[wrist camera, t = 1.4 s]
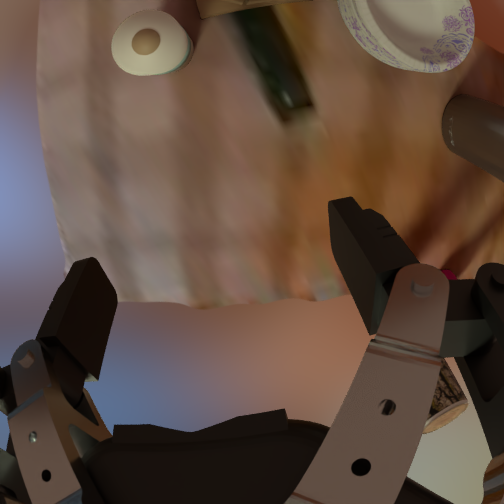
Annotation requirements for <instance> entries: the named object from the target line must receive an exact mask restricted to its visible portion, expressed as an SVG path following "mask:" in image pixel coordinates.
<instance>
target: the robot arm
mask: <svg viewBox="0 0 504 504" xmlns="http://www.w3.org/2000/svg"><path fill="white" fill-rule="evenodd" d="M442 133H443V137H444V141H445V143H446V145H447V146H448V148H449V149H450V150H451V151H452V152H453V153H455V154H457V155H459V156H460V157H462V158H464V159H466V160H468V161H469V162H471V163H473V164H474V165H476V166H478V167H480V168H481V169H483V170H485V171H486V172H488V173H489V174H491V175H493V176H494V177H496V178H497V179H499V180H501V181H502V182H504V107H503V106H500V105H497V104H495V103H492V102H489V101H486V100H483V99H479V98H476V97H473V96H469V95H459V96H456V97H455V98H453V99H452V100H451V101H450V102H449V104H448V105H447V107H446V109H445V112H444V115H443V120H442ZM328 213H329V226H330V240H331V247H332V252H333V255H334V258H335V261H336V263H337V265H338V267H339V269H340V271H341V273H342V275H343V277H344V280H345V282H346V284H347V286H348V288H349V290H350V293H351V295H352V297H353V299H354V301H355V304H356V306H357V308H358V310H359V312H360V315H361V317H362V319H363V322H364V324H365V326H366V328H367V331H368V333H369V335H373V334H376V333H377V334H376V336H375V339H371V341H370V343H369V345H368V347H367V349H366V352H365V354H364V357H363V359H362V361H361V364H360V366H359V368H358V371H357V373H356V375H355V377H354V380H353V382H352V384H351V386H350V389H349V391H348V393H347V395H346V397H345V399H344V401H343V404H342V406H341V408H340V410H339V412H338V414H337V416H336V418H335V420H334V422H333V424H332V426H331V428H330V427H327V426H324V425H322V424H318V423H314V422H310V421H304V420H293V419H288V417H287V414H286V411H285V409H279V410H275V411H269V412H263V413H257V414H251V415H244V416H238V417H235V418H232V419H230V420H227V421H225V422H222V423H219V424H216V425H213V426H211V427H208V428H205V429H202V430H199V431H195V432H184V431H179V430H174V429H169V428H164V427H160V426H155V425H151V424H142V425H114V429H113V436H112V434H111V433H110V432H109V430H108V429H107V427H106V425H105V424H104V422H103V420H102V419H101V416H100V414H99V412H98V410H97V408H96V406H95V405H94V403H93V400H92V398H91V396H90V394H89V393H88V391H87V390H86V389H85V388H84V387H83V386H84V382H89V381H98V380H99V375H100V370H101V366H102V362H103V358H104V353H105V349H106V345H107V341H108V337H109V334H110V329H111V326H112V322H113V319H114V315H115V312H116V308H117V304H118V300H117V294H116V291H115V289H114V287H113V285H112V284H111V282H110V280H109V279H108V277H107V275H106V274H105V272H104V270H103V269H102V267H101V265H100V264H99V262H98V260H97V259H96V258H94V257H90V258H86V259H83V260H79V261H76V262H74V263H73V265H72V267H71V269H70V271H69V273H68V275H67V276H66V278H65V281H64V282H63V283H62V284H61V285H60V287H59V288H58V290H57V292H56V294H55V296H54V298H53V301H52V302H51V304H50V306H49V310H48V311H47V313H46V315H45V318H44V320H43V322H42V325H41V327H40V329H39V332H38V334H37V336H36V339H35V340H33V339H32V340H28V341H26V342H24V343H23V344H22V345H20V346H19V348H18V349H17V350H16V351H15V353H14V355H13V357H12V359H11V364H10V365H8V366H6V367H3V368H1V367H0V411H1V412H3V413H4V414H5V415H7V416H8V418H7V419H8V424H9V429H10V433H9V438H8V444H7V449H6V451H4V450H3V449H1V448H0V504H453V503H451V502H450V501H448V500H446V499H444V498H442V497H441V496H439V495H437V494H435V493H434V492H432V491H430V490H428V489H427V488H425V487H423V486H422V485H420V484H418V483H417V482H415V481H413V480H412V479H410V478H408V477H407V473H408V471H409V468H410V466H411V463H412V461H413V458H414V456H415V453H416V450H417V447H418V445H419V442H420V439H421V436H422V433H423V430H424V427H425V424H426V421H427V417H428V414H429V411H430V407H431V404H432V400H433V396H434V393H435V389H436V385H437V381H438V376H439V372H440V367H441V361H442V358H446V357H454V359H455V361H456V363H457V365H458V368H459V370H460V372H461V374H462V377H463V379H464V381H465V384H466V386H467V389H468V391H469V393H470V396H471V398H472V401H473V404H474V406H475V409H476V411H477V414H478V417H479V419H480V422H481V425H482V428H483V431H484V434H485V437H486V440H487V443H488V446H489V449H490V452H491V455H492V460H491V461H490V463H489V464H488V466H487V468H486V471H485V474H484V479H483V488H484V497H483V501H482V503H481V504H504V265H502V264H499V263H486V264H484V265H482V266H481V267H480V268H479V269H478V271H477V274H476V277H475V279H462V280H449V279H447V277H446V276H445V274H444V273H443V272H442V271H440V270H439V269H437V268H436V267H433V266H431V265H427V264H420V262H419V261H418V260H417V258H416V257H415V256H414V254H413V253H412V252H411V250H410V249H409V248H408V246H407V245H406V244H405V243H404V241H403V240H402V239H401V237H400V236H399V235H397V232H396V231H395V230H394V229H393V227H391V225H390V224H389V222H388V221H387V220H386V219H385V218H384V216H383V215H381V214H379V213H377V212H376V211H374V210H372V209H365V210H362V209H361V207H360V206H359V205H358V203H357V202H356V201H355V200H354V198H353V197H346V198H341V199H336V200H331V201H329V202H328Z"/></svg>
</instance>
